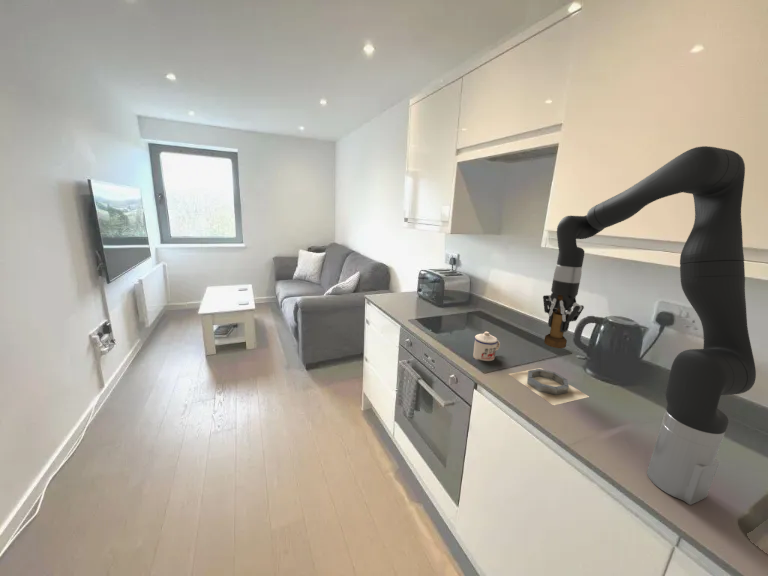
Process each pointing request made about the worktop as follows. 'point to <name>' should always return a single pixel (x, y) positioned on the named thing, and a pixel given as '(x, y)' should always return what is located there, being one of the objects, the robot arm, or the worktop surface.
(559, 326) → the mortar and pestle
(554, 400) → the beech board
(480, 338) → the teacup with lid
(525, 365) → the worktop surface
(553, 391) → the steel collar
